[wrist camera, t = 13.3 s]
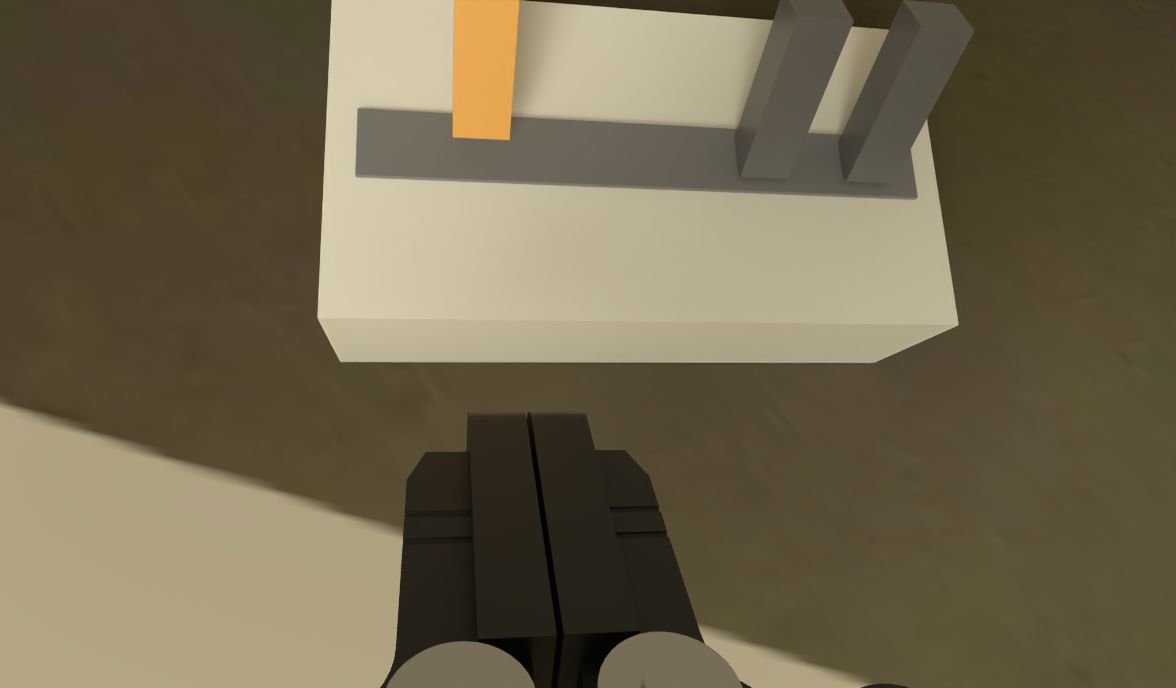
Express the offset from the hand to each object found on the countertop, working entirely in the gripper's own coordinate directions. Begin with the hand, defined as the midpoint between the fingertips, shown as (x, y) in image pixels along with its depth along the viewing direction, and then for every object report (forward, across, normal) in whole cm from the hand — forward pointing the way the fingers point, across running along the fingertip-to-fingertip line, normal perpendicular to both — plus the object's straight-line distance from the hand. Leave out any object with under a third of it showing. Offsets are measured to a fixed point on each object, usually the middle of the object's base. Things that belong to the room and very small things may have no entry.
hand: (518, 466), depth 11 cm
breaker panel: (+23, -6, +6) cm, 25 cm away
